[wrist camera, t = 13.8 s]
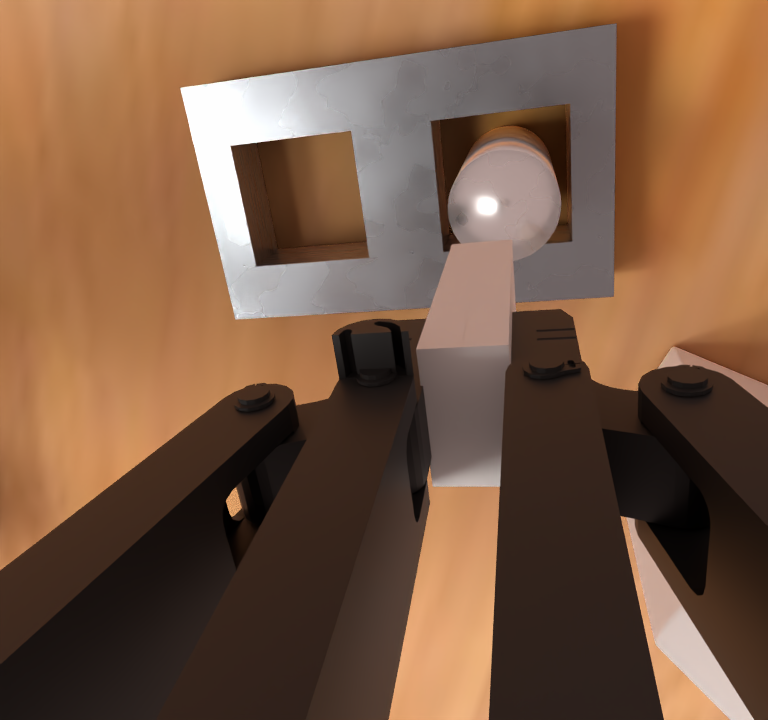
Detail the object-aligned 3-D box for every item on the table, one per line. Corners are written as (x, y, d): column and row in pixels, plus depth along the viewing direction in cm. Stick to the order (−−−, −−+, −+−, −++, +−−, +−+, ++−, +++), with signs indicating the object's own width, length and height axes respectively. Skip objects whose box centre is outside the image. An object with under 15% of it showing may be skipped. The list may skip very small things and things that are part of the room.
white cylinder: (468, 216, 35) (452, 265, 27) (461, 130, 34) (442, 156, 26) (552, 209, 34) (562, 258, 26) (550, 120, 33) (560, 143, 25)
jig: (257, 298, 40) (235, 319, 37) (210, 84, 35) (180, 88, 32) (605, 274, 35) (613, 296, 32) (606, 26, 30) (616, 23, 27)
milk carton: (792, 393, 36) (1030, 696, 19) (718, 488, 39) (866, 818, 22) (672, 343, 36) (804, 601, 19) (608, 442, 39) (673, 736, 23)
